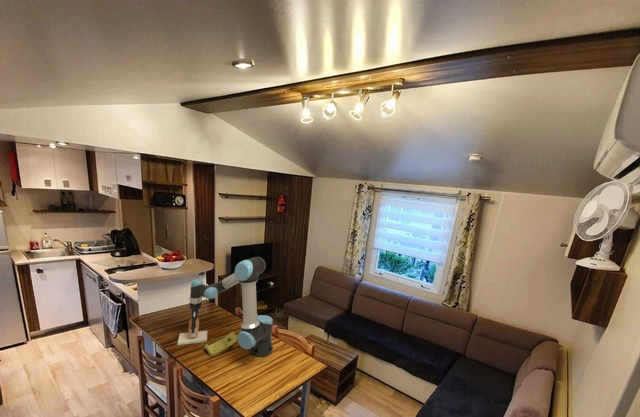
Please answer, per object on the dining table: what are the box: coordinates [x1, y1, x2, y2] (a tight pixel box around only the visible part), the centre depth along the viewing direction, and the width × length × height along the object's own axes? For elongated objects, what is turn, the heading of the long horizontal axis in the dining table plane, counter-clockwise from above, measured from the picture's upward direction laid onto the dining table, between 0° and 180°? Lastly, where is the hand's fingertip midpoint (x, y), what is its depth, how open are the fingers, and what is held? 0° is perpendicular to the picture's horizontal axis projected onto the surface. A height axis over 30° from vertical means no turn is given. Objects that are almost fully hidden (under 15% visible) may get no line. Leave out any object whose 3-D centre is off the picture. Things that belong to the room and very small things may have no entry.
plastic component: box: [203, 330, 238, 357], centre depth 175 cm, size 20×7×10 cm
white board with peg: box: [177, 330, 208, 346], centre depth 182 cm, size 12×18×6 cm, turn 111°
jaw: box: [187, 317, 200, 338], centre depth 182 cm, size 7×6×10 cm
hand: (193, 333), depth 182 cm, fingers closed on jaw, 7 cm apart
